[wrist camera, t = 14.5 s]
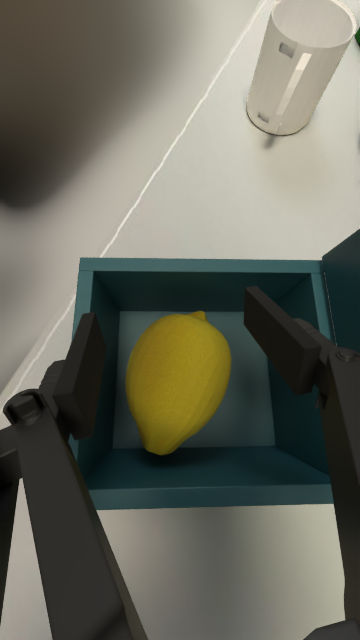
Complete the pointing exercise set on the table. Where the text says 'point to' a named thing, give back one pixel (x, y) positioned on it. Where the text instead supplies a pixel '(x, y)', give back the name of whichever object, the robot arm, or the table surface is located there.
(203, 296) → the teal box
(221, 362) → the lemon
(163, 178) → the table surface
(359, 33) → the soya milk
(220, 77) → the table surface
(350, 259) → the lid
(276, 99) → the mug
